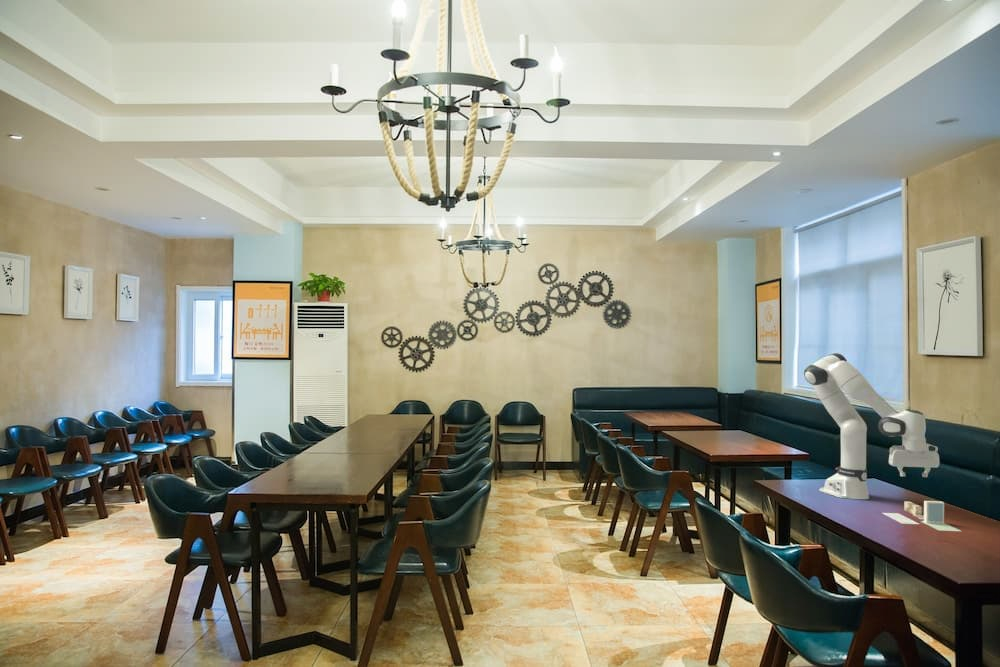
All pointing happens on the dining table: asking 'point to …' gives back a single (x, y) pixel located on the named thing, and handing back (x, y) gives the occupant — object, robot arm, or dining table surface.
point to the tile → (934, 512)
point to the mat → (942, 527)
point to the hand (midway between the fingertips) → (913, 476)
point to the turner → (913, 509)
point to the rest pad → (900, 518)
